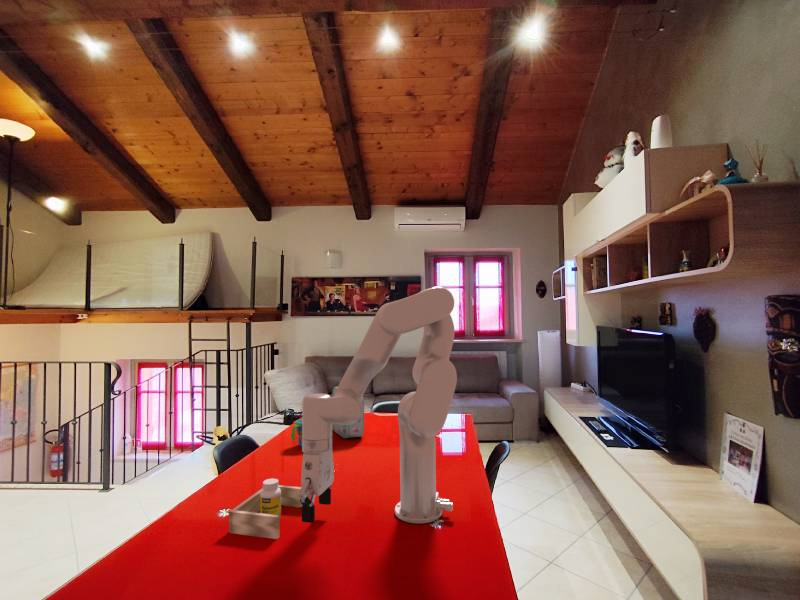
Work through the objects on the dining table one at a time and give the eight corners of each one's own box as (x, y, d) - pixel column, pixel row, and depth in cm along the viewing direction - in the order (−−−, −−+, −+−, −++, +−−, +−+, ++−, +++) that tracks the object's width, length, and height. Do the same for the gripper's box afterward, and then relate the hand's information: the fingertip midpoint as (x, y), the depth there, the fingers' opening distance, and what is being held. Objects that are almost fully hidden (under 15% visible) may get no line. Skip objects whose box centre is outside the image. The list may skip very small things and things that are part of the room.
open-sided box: (309, 506, 111) (309, 488, 112) (277, 539, 95) (277, 517, 95) (267, 502, 115) (267, 484, 115) (229, 532, 98) (229, 511, 98)
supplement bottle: (258, 525, 102) (259, 486, 102) (260, 515, 107) (260, 478, 107) (280, 522, 103) (280, 483, 103) (281, 512, 108) (281, 476, 109)
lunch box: (327, 427, 194) (327, 383, 195) (348, 425, 199) (347, 381, 200) (343, 442, 170) (343, 391, 171) (366, 439, 174) (366, 389, 176)
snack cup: (317, 438, 176) (317, 415, 177) (331, 443, 169) (331, 419, 169) (284, 446, 165) (284, 421, 166) (297, 452, 158) (297, 426, 158)
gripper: (316, 455, 93) (315, 531, 93) (343, 435, 110) (343, 499, 109) (286, 453, 95) (286, 527, 94) (318, 433, 112) (317, 496, 111)
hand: (316, 512), depth 102 cm, fingers open, 9 cm apart
